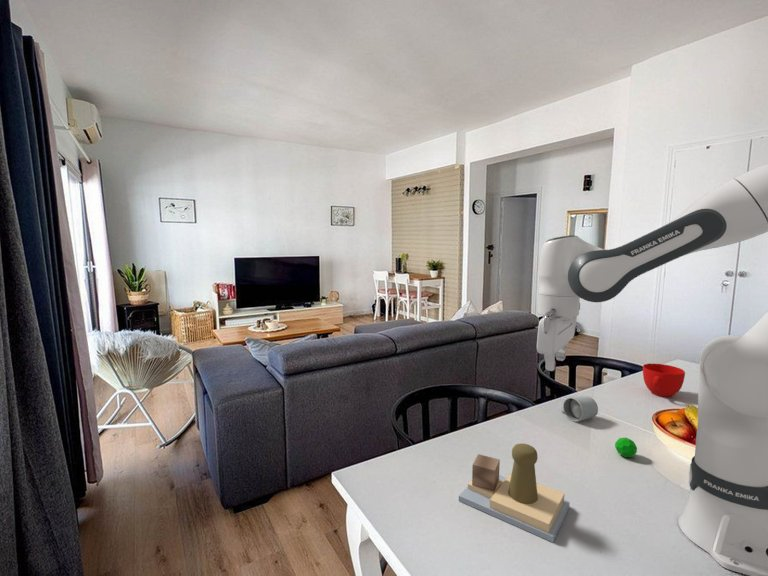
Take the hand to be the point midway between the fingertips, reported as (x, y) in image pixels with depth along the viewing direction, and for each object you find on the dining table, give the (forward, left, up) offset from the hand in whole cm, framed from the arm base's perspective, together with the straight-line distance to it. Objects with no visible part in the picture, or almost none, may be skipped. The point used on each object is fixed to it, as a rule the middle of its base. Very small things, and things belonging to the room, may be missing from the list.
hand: (555, 364), depth 91 cm
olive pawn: (+2, +14, -26) cm, 30 cm away
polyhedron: (-13, -24, -29) cm, 40 cm away
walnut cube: (+11, +14, -26) cm, 32 cm away
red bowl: (-18, -81, -29) cm, 88 cm away
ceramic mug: (+3, -41, -29) cm, 51 cm away
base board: (+4, +14, -29) cm, 32 cm away
